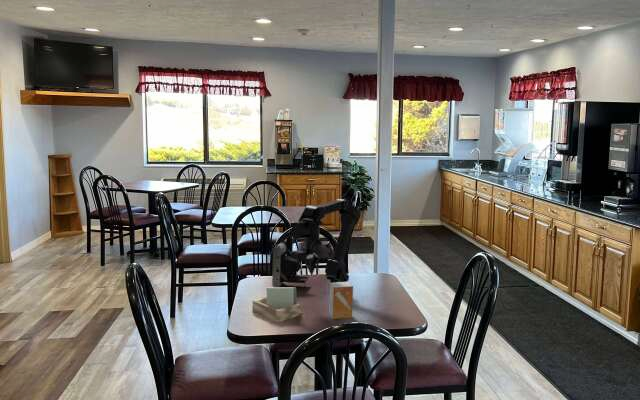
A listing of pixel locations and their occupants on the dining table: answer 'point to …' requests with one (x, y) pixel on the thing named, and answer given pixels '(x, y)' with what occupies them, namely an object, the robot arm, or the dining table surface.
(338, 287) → the small box
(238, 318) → the dining table surface
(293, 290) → the door
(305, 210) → the robot arm
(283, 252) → the vintage camera
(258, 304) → the wooden tray
